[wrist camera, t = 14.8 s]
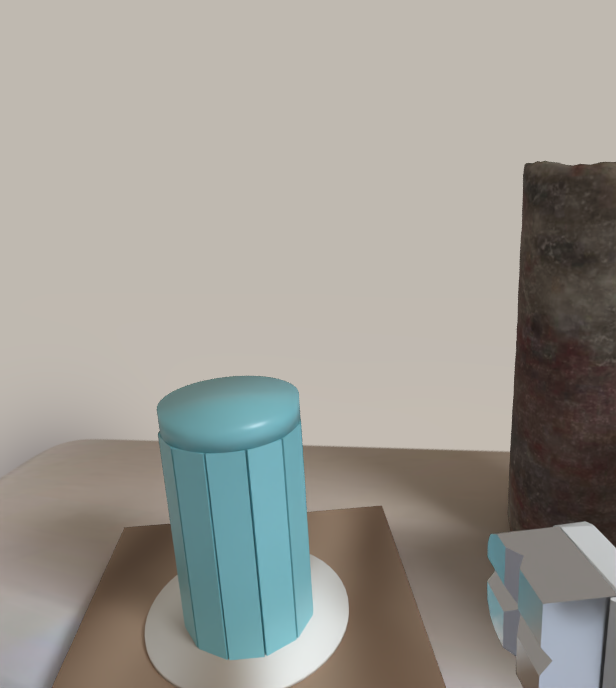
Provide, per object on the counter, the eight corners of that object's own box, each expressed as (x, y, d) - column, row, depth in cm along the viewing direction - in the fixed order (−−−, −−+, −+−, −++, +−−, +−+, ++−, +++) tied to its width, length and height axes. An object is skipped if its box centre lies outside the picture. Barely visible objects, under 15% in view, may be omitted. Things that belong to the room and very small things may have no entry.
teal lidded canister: (308, 561, 27) (295, 371, 24) (317, 652, 22) (302, 420, 19) (196, 571, 27) (171, 380, 24) (176, 665, 21) (141, 432, 19)
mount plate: (382, 523, 32) (379, 427, 31) (470, 788, 18) (475, 632, 16) (127, 545, 32) (111, 448, 30) (3, 839, 17) (-41, 681, 15)
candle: (517, 487, 35) (534, 165, 30) (650, 513, 32) (694, 153, 26) (495, 556, 29) (510, 161, 24) (658, 597, 25) (718, 144, 20)
